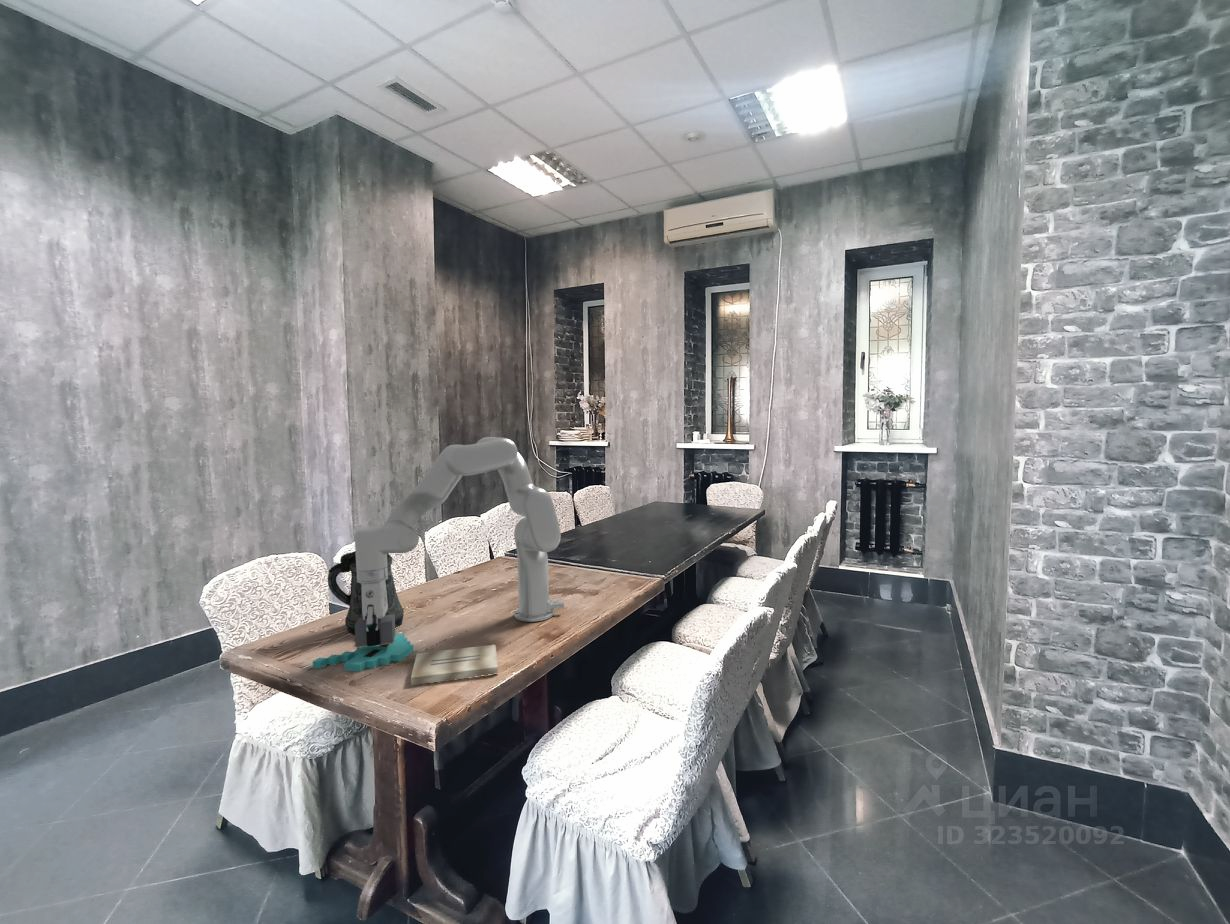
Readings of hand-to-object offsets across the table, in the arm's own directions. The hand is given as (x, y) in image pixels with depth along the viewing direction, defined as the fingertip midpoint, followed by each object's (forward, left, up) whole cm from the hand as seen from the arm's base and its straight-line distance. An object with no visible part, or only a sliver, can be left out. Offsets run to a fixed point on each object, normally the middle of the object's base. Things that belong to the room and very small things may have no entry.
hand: (375, 640), depth 147 cm
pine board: (-21, +14, -4) cm, 25 cm away
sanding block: (0, 0, 0) cm, 0 cm away
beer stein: (+5, -22, -4) cm, 23 cm away
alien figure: (+1, -1, -5) cm, 5 cm away
